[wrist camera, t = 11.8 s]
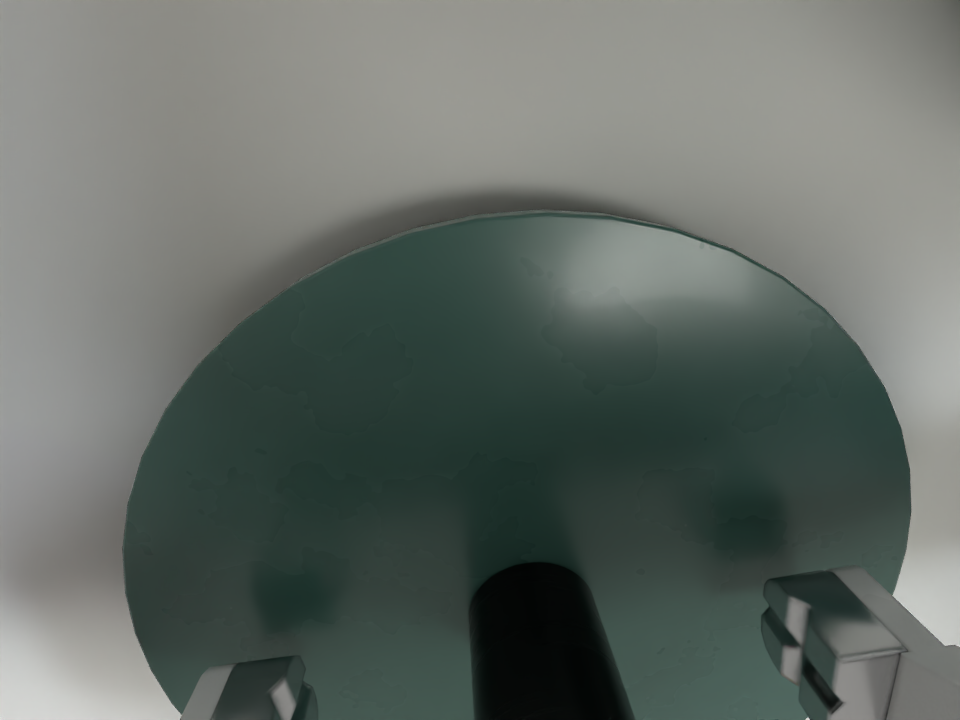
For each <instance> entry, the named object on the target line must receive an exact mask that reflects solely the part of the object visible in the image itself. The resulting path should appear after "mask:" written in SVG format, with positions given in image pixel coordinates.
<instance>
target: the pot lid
mask: <svg viewBox="0 0 960 720" xmlns="http://www.w3.org/2000/svg"><path fill="white" fill-rule="evenodd" d="M910 516H911V490H910V468H909V463H908V459H907V454H906V449H905V444H904V439H903V435H902V430H901V427H900V424H899V422H898V419H897V417H896V414H895V412H894V409H893V407H892V404H891V402H890V399H889V397H888V394H887V392H886V389H885V387H884V385H883V384H882V382H881V381H880V379H879V377H878V376H877V374H876V373H875V371H874V370H873V368H872V366H871V365H870V363H869V362H868V360H867V358H866V357H865V355H864V354H863V352H862V351H861V349H860V347H859V346H858V345H857V344H856V343H855V341H854V340H853V339H852V338H851V337H850V336H849V335H848V334H847V333H846V332H845V330H844V329H843V328H842V327H841V326H840V325H839V324H838V323H837V322H836V321H835V320H834V318H833V317H832V316H831V315H830V314H829V313H828V312H827V311H826V310H825V309H824V308H823V307H822V306H820V305H819V304H818V303H817V302H815V301H814V300H813V299H811V298H810V297H809V296H808V295H806V294H805V293H804V292H802V291H801V290H800V289H799V288H797V287H796V286H795V285H793V284H792V283H791V282H790V281H788V280H787V279H786V278H784V277H783V276H781V275H780V274H778V273H776V272H774V271H772V270H770V269H769V268H767V267H765V266H763V265H761V264H759V263H758V262H756V261H754V260H752V259H750V258H748V257H747V256H745V255H743V254H741V253H739V252H737V251H735V250H734V249H732V248H729V247H726V246H723V245H720V244H718V243H715V242H712V241H709V240H706V239H704V238H701V237H698V236H695V235H692V234H690V233H687V232H684V231H681V230H678V229H676V228H672V227H668V226H665V225H661V224H656V223H651V222H646V221H641V220H636V219H631V218H626V217H621V216H616V215H611V214H606V213H596V212H578V211H560V210H542V209H538V210H525V211H513V212H501V213H489V214H476V215H471V216H467V217H462V218H458V219H453V220H449V221H444V222H440V223H435V224H431V225H426V226H422V227H417V228H413V229H410V230H407V231H405V232H402V233H399V234H396V235H394V236H391V237H388V238H386V239H383V240H380V241H377V242H375V243H372V244H369V245H367V246H364V247H361V248H358V249H356V250H353V251H351V252H349V253H348V254H346V255H344V256H342V257H340V258H338V259H336V260H334V261H333V262H331V263H329V264H327V265H325V266H323V267H321V268H319V269H318V270H316V271H314V272H312V273H310V274H308V275H306V276H305V277H303V278H301V279H299V280H298V281H296V282H295V283H294V284H292V285H291V286H289V287H288V288H287V289H285V290H284V291H283V292H281V293H280V294H279V295H277V296H276V297H274V298H273V299H272V300H270V301H269V302H268V303H266V304H265V305H264V306H262V307H261V308H260V309H258V310H257V311H255V312H254V313H253V314H251V315H250V316H249V317H247V318H246V319H245V320H244V321H242V322H241V323H240V324H239V325H238V326H237V327H236V328H235V329H234V330H233V331H232V332H231V333H230V334H229V335H228V336H227V337H226V338H225V339H224V340H223V341H222V342H221V343H220V344H219V345H218V346H217V347H216V348H215V349H213V350H212V351H211V352H210V353H209V354H208V355H207V356H206V357H205V358H204V359H203V360H202V361H201V362H200V363H199V364H198V365H197V367H196V368H195V370H194V371H193V372H192V374H191V375H190V376H189V378H188V379H187V381H186V382H185V383H184V385H183V386H182V387H181V389H180V390H179V392H178V393H177V394H176V396H175V397H174V398H173V400H172V401H171V403H170V404H169V405H168V407H167V408H166V409H165V411H164V413H163V415H162V417H161V419H160V421H159V423H158V425H157V427H156V429H155V431H154V433H153V435H152V437H151V439H150V441H149V443H148V445H147V447H146V449H145V451H144V453H143V455H142V457H141V461H140V464H139V467H138V471H137V474H136V477H135V481H134V484H133V487H132V491H131V494H130V497H129V501H128V505H127V514H126V523H125V532H124V540H123V549H122V551H123V566H124V582H125V594H126V598H127V602H128V606H129V610H130V614H131V619H132V623H133V627H134V631H135V634H136V636H137V639H138V641H139V643H140V646H141V648H142V650H143V653H144V655H145V657H146V660H147V662H148V664H149V667H150V669H151V671H152V673H153V674H154V676H155V677H156V679H157V681H158V682H159V684H160V685H161V687H162V688H163V690H164V692H165V693H166V695H167V696H168V698H169V700H170V701H171V703H172V704H173V705H174V706H175V708H176V709H177V710H178V711H179V712H180V713H181V715H182V714H183V712H184V710H185V708H186V706H187V703H188V701H189V699H190V697H191V695H192V693H193V691H194V689H195V687H196V685H197V683H198V681H199V679H200V677H201V675H202V674H203V673H204V672H205V671H206V670H207V669H208V668H209V667H213V666H220V665H227V664H234V663H239V662H247V661H255V660H262V659H270V658H278V657H285V656H293V655H300V656H301V658H302V660H303V663H304V665H305V667H306V671H305V675H304V679H303V681H304V682H306V683H308V684H309V685H311V686H312V687H313V688H314V691H315V694H316V697H317V704H318V711H319V712H318V720H805V719H806V718H807V717H808V715H807V714H806V712H805V711H804V709H803V708H802V706H801V705H800V703H799V702H798V693H799V686H797V685H795V684H794V683H792V682H791V681H789V680H788V679H786V678H785V677H783V676H781V675H780V673H779V671H778V670H777V668H776V667H775V665H774V664H773V662H772V660H771V658H770V656H769V654H768V652H767V650H766V648H765V645H764V641H763V637H762V633H761V615H762V614H763V612H764V611H765V610H766V609H767V608H768V607H769V604H768V603H767V601H766V600H765V599H764V597H763V588H764V584H765V582H766V581H767V580H768V579H771V578H777V577H783V576H788V575H794V574H800V573H806V572H811V571H817V570H826V569H832V568H838V567H844V566H851V565H857V566H859V567H861V568H863V569H864V570H866V571H867V572H868V573H869V574H870V575H871V576H872V577H873V578H874V579H875V580H876V581H877V582H878V583H879V584H880V585H881V586H882V587H883V588H884V589H886V590H887V591H888V592H889V593H890V594H891V595H893V592H894V590H895V587H896V584H897V581H898V577H899V574H900V570H901V567H902V563H903V560H904V556H905V553H906V547H907V540H908V532H909V524H910Z"/></svg>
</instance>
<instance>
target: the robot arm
mask: <svg viewBox="0 0 960 720" xmlns="http://www.w3.org/2000/svg"><path fill="white" fill-rule="evenodd" d="M763 597H764V599H765V600H766V601H767V603H768V604H769V607H768V608H767V609H766V610H765V611H764V612H763V614H762V615H761V633H762V637H763V641H764V645H765V648H766V650H767V652H768V654H769V656H770V658H771V660H772V662H773V664H774V665H775V667H776V668H777V670H778V671H779V673H780V675H781V676H783V677H785V678H786V679H788V680H789V681H791V682H792V683H794V684H795V685H797V686H799V693H798V702H799V703H800V705H801V706H802V708H803V709H804V711H805V712H806V714H807V715H808V717H809V718H810V720H960V647H958V646H956V645H949V646H944V645H943V644H942V643H941V642H940V641H939V640H938V639H937V638H936V637H935V636H934V635H933V634H932V633H931V632H930V631H929V630H928V629H927V628H925V627H924V626H923V625H922V624H921V623H920V622H919V621H918V620H917V619H916V618H915V617H914V616H913V615H912V614H911V613H910V612H909V611H908V610H907V609H906V608H904V607H903V606H902V605H901V604H900V603H899V602H898V601H897V600H896V599H895V598H894V597H893V596H892V595H891V594H890V593H889V592H888V591H887V590H886V589H884V588H883V587H882V586H881V585H880V584H879V583H878V582H877V581H876V580H875V579H874V578H873V577H872V576H871V575H870V574H869V573H868V572H867V571H866V570H864V569H863V568H861V567H859V566H857V565H851V566H844V567H838V568H832V569H826V570H817V571H811V572H806V573H800V574H794V575H788V576H783V577H777V578H771V579H768V580H767V581H766V582H765V584H764V588H763ZM305 671H306V667H305V665H304V663H303V660H302V658H301V656H300V655H293V656H285V657H278V658H270V659H262V660H255V661H247V662H239V663H234V664H227V665H220V666H213V667H209V668H208V669H207V670H206V671H205V672H204V673H203V674H202V675H201V677H200V679H199V681H198V683H197V685H196V687H195V689H194V691H193V693H192V695H191V697H190V699H189V701H188V703H187V706H186V708H185V710H184V712H183V714H182V716H181V718H180V720H318V712H319V711H318V704H317V697H316V694H315V691H314V688H313V687H312V686H311V685H309V684H308V683H306V682H304V681H303V679H304V675H305Z"/></svg>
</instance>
